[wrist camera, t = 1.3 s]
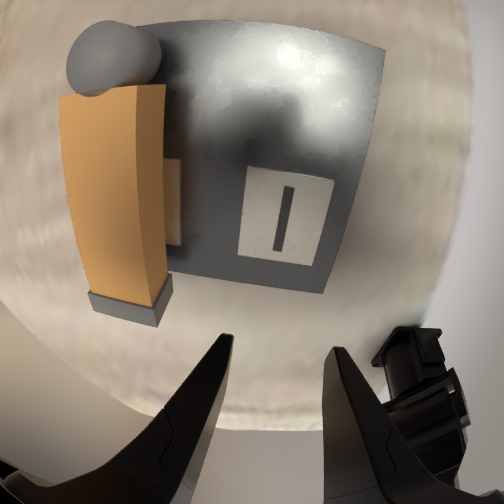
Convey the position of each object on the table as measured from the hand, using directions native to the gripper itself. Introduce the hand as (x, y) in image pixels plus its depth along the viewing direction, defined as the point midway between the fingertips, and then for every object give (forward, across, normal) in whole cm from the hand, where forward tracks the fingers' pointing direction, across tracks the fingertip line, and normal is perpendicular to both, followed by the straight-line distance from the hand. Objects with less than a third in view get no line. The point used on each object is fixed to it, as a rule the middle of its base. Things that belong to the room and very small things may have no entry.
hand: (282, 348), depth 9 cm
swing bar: (+8, +9, -3) cm, 12 cm away
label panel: (+11, +4, -3) cm, 12 cm away
